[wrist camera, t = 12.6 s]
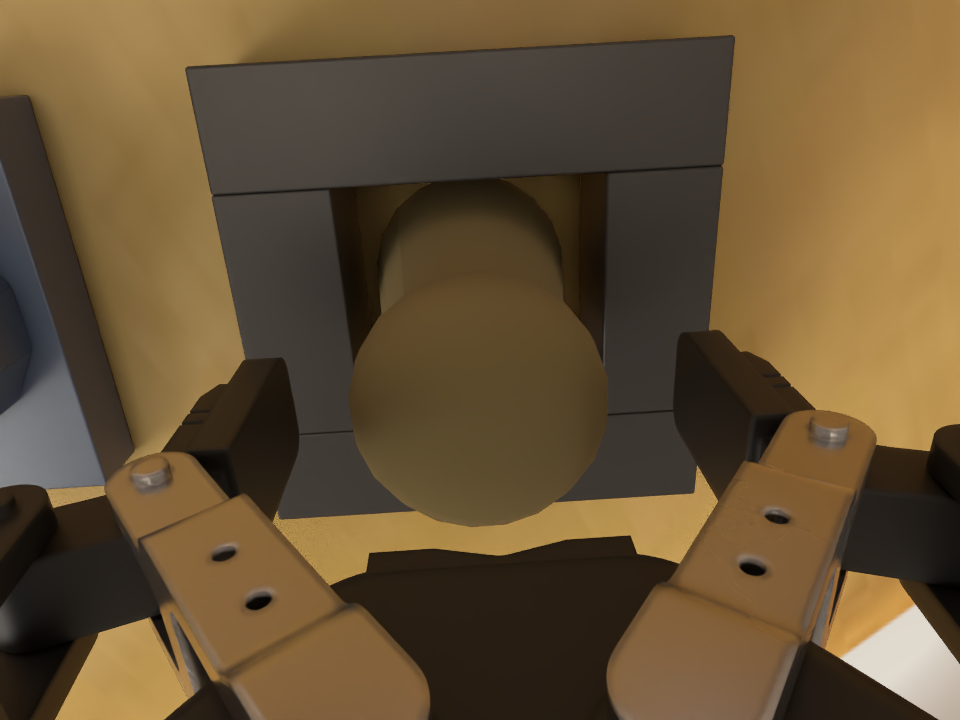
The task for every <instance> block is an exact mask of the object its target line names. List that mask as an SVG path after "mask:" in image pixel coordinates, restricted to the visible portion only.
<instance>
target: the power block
mask: <svg viewBox="0 0 960 720" xmlns="http://www.w3.org/2000/svg"><path fill="white" fill-rule="evenodd" d="M133 452H134V447H133V444H132V441H131V437H130V434H129V431H128V427H127V424H126V420H125V417H124V414H123V410H122V407H121V404H120V400H119V397H118V394H117V390H116V387H115V384H114V380H113V377H112V374H111V370H110V367H109V364H108V360H107V357H106V354H105V350H104V347H103V344H102V340H101V337H100V334H99V330H98V327H97V324H96V320H95V317H94V314H93V310H92V307H91V304H90V300H89V297H88V294H87V290H86V287H85V284H84V280H83V277H82V274H81V270H80V267H79V264H78V260H77V257H76V254H75V250H74V247H73V244H72V240H71V237H70V234H69V230H68V227H67V224H66V220H65V217H64V214H63V210H62V207H61V204H60V200H59V197H58V194H57V190H56V187H55V184H54V180H53V177H52V174H51V170H50V167H49V164H48V160H47V157H46V154H45V150H44V147H43V144H42V140H41V137H40V134H39V130H38V127H37V124H36V120H35V117H34V114H33V110H32V107H31V104H30V100H29V97H28V96H26V95H20V96H2V97H0V488H2V487H7V486H12V485H20V484H32V485H37V486H40V487H42V488H44V489H57V488H73V487H89V486H105V483H106V481H107V480H108V478H109V477H110V476H111V475H112V474H113V473H114V472H115V471H116V470H118V469H119V468H121V467H122V466H123V465H124V464H125V462H126V461H127V460H128V459H129V457H130V456H131V455H132V454H133Z"/></svg>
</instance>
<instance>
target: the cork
mask: <svg viewBox="0 0 960 720" xmlns="http://www.w3.org/2000/svg"><path fill="white" fill-rule="evenodd" d="M377 269H378V280H379V292H380V303H381V314H382V315H381V316H379V318H378V319H377V321H376V323H375V324H374V326H373V328H372V329H371V331H370V333H369V334H368V336H367V338H366V339H365V341H364V343H363V344H362V346H361V348H360V349H359V352H358V355H357V357H356V360H355V364H354V370H353V375H352V380H351V385H350V390H349V396H348V400H349V406H350V412H351V418H352V424H353V430H354V436H355V440H356V445H357V447H358V449H359V451H360V453H361V455H362V456H363V458H364V460H365V462H366V464H367V465H368V467H369V469H370V471H371V472H372V474H373V476H374V477H375V478H376V479H377V480H378V481H379V482H380V483H381V484H382V485H383V486H384V487H386V488H387V489H388V490H389V491H390V492H391V493H392V494H393V495H394V496H395V497H396V498H398V499H399V500H400V501H401V502H402V503H404V504H405V505H406V506H408V507H410V508H412V509H414V510H416V511H418V512H420V513H422V514H424V515H427V516H429V517H431V518H433V519H435V520H437V521H441V522H446V523H452V524H457V525H463V526H468V527H479V526H492V525H504V524H508V523H511V522H514V521H517V520H520V519H523V518H526V517H528V516H531V515H534V514H537V513H539V512H540V511H542V510H543V509H545V508H546V507H548V506H549V505H550V504H552V503H553V502H555V501H556V500H558V499H559V498H561V497H562V496H563V495H565V494H566V493H567V492H568V491H569V490H570V489H571V488H572V487H573V486H574V485H575V483H576V482H577V481H578V480H579V478H580V477H581V476H582V475H583V473H584V472H585V471H586V470H587V468H588V467H589V466H590V465H591V463H592V462H593V461H594V459H595V457H596V454H597V451H598V448H599V446H600V443H601V440H602V437H603V435H604V432H605V429H606V426H607V398H608V377H607V375H606V372H605V369H604V366H603V364H602V361H601V358H600V355H599V353H598V350H597V347H596V344H595V342H594V340H593V338H592V336H591V334H590V332H589V331H588V330H587V329H586V327H585V326H584V325H583V324H582V323H581V321H580V320H579V319H578V318H577V317H576V315H575V314H574V313H573V312H572V311H571V309H570V308H569V307H568V306H567V305H566V303H565V302H564V300H563V278H562V256H561V246H560V244H559V241H558V238H557V235H556V233H555V230H554V227H553V224H552V222H551V220H550V219H549V218H548V216H547V215H546V214H545V213H544V211H543V210H542V209H541V208H540V206H539V205H538V204H537V203H536V202H535V200H534V199H533V198H532V197H530V196H528V195H527V194H525V193H524V192H522V191H521V190H519V189H518V188H516V187H514V186H513V185H511V184H510V183H508V182H505V181H501V180H497V179H483V180H467V181H450V182H435V183H433V184H430V185H428V186H425V187H423V188H421V189H419V190H418V191H417V192H415V193H414V194H413V195H412V196H411V197H410V198H409V199H408V200H406V201H405V202H404V203H403V204H402V205H401V206H400V207H398V208H397V210H396V211H395V213H394V215H393V217H392V218H391V220H390V222H389V224H388V225H387V227H386V229H385V231H384V232H383V234H382V239H381V244H380V249H379V254H378V259H377Z"/></svg>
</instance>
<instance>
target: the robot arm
mask: <svg viewBox="0 0 960 720" xmlns="http://www.w3.org/2000/svg"><path fill="white" fill-rule="evenodd" d="M673 413H674V420H675V424H676V428H677V430H678V432H679V434H680V436H681V438H682V439H683V441H684V443H685V445H686V446H687V448H688V450H689V451H690V453H691V455H692V457H693V458H694V460H695V462H696V463H697V465H698V467H699V469H700V470H701V472H702V474H703V475H704V477H705V479H706V481H707V482H708V484H709V486H710V488H711V489H712V491H713V493H714V494H715V496H716V498H717V500H718V503H717V505H716V506H715V508H714V509H713V511H712V513H711V514H710V516H709V518H708V519H707V521H706V522H705V524H704V526H703V527H702V529H701V530H700V532H699V534H698V535H697V537H696V539H695V540H694V542H693V543H692V545H691V547H690V548H689V550H688V551H687V553H686V555H685V556H684V558H683V560H682V561H681V563H680V564H678V563H675V562H672V561H668V560H665V559H661V558H657V557H652V556H647V555H640V554H637V552H636V549H635V547H634V544H633V541H632V538H631V536H616V537H601V538H586V539H571V540H564V541H560V542H556V543H552V544H548V545H544V546H540V547H536V548H532V549H528V550H524V551H520V552H516V553H512V554H508V555H502V556H495V555H485V554H477V553H468V552H459V551H450V550H441V549H422V550H407V551H392V552H377V553H369V559H368V565H367V571H366V572H365V573H362V574H358V575H355V576H352V577H350V578H347V579H344V580H341V581H339V582H337V583H335V584H332V585H330V586H329V585H328V584H327V583H326V582H325V581H324V579H323V578H322V577H321V576H320V575H319V574H318V573H317V572H316V571H315V569H314V568H313V567H312V566H311V565H310V564H309V563H308V562H307V561H306V560H305V558H304V557H303V556H302V555H301V554H300V553H299V552H298V551H297V550H296V548H295V547H294V546H293V545H292V544H291V543H290V542H289V541H288V540H287V538H286V537H285V536H284V535H283V534H282V533H281V532H280V531H279V530H278V528H277V527H276V526H275V525H274V524H273V523H272V522H273V520H274V517H275V514H276V512H277V509H278V506H279V504H280V501H281V498H282V496H283V493H284V490H285V488H286V485H287V482H288V480H289V477H290V474H291V472H292V469H293V466H294V464H295V461H296V458H297V455H298V451H299V427H298V421H297V416H296V411H295V405H294V400H293V395H292V390H291V384H290V379H289V374H288V369H287V365H286V363H285V360H284V359H283V358H282V357H277V358H261V359H246V360H244V361H243V362H242V363H241V365H240V366H239V368H238V369H237V371H236V372H235V374H234V375H233V377H232V378H231V380H230V381H229V383H228V384H219V385H218V386H216V387H215V388H213V389H212V390H210V391H209V392H207V393H206V394H204V395H203V396H201V397H200V398H199V399H198V401H197V402H196V404H195V405H194V406H193V408H192V409H191V411H190V414H188V415H187V416H186V418H185V419H184V421H183V422H182V425H180V426H179V428H178V429H177V430H176V432H175V433H174V435H173V436H172V437H171V439H170V440H169V442H168V443H167V444H166V446H165V447H164V449H163V450H162V451H161V453H156V454H152V455H147V456H144V457H141V458H139V459H136V460H134V461H131V462H129V463H127V464H126V465H124V466H122V467H121V468H119V469H118V470H116V471H115V472H114V473H113V474H112V475H111V476H110V477H109V478H108V480H107V481H106V483H105V487H104V490H105V493H106V495H104V496H100V497H97V498H93V499H89V500H85V501H81V502H76V503H72V504H68V505H64V506H60V507H56V508H53V507H52V504H51V502H50V499H49V496H48V494H47V492H46V490H45V489H44V488H42V487H40V486H37V485H32V484H20V485H12V486H7V487H2V488H0V720H55V718H56V716H57V714H58V712H59V711H60V709H61V707H62V705H63V703H64V701H65V699H66V697H67V695H68V693H69V691H70V689H71V687H72V686H73V684H74V682H75V680H76V678H77V676H78V674H79V672H80V670H81V668H82V666H83V664H84V663H85V661H86V659H87V657H88V655H89V653H90V651H91V649H92V647H93V645H94V643H95V641H96V639H97V637H98V633H99V632H102V631H106V630H109V629H112V628H116V627H119V626H122V625H126V624H129V623H132V622H136V621H139V620H142V619H146V618H148V619H149V622H150V625H151V627H152V629H153V631H154V633H155V635H156V637H157V639H158V641H159V643H160V645H161V647H162V649H163V651H164V653H165V655H166V657H167V659H168V661H169V663H170V665H171V667H172V669H173V671H174V672H175V674H176V676H177V678H178V680H179V682H180V684H181V686H182V688H183V690H184V692H185V694H186V696H187V699H188V700H187V701H186V702H184V703H183V704H182V705H181V706H180V707H179V708H177V709H176V710H175V711H174V712H173V713H172V714H170V715H169V716H168V717H167V718H166V719H164V720H938V719H936V718H935V717H933V716H932V715H930V714H928V713H927V712H925V711H924V710H922V709H920V708H919V707H917V706H916V705H914V704H912V703H911V702H909V701H907V700H906V699H904V698H902V697H901V696H899V695H898V694H896V693H894V692H893V691H891V690H890V689H888V688H886V687H885V686H883V685H882V684H880V683H878V682H877V681H875V680H874V679H872V678H870V677H869V676H867V675H866V674H864V673H862V672H861V671H859V670H857V669H856V668H854V667H853V666H851V665H849V664H848V663H846V662H844V661H843V660H841V659H840V658H838V657H836V656H835V655H833V654H832V653H830V652H828V651H827V650H825V647H826V643H827V640H828V637H829V634H830V630H831V627H832V624H833V621H834V617H835V614H836V611H837V608H838V604H839V601H840V598H841V595H842V592H843V588H844V585H845V582H846V578H847V574H848V571H853V572H859V573H865V574H872V575H878V576H884V577H891V578H897V579H899V580H900V583H901V585H902V586H903V588H904V589H905V591H906V592H907V593H908V595H909V596H910V597H911V599H912V600H913V601H914V603H915V604H916V605H917V607H918V608H919V609H920V611H921V612H922V613H923V615H924V616H925V618H926V619H927V620H928V622H929V623H930V624H931V626H932V627H933V628H934V630H935V631H936V632H937V634H938V635H939V637H940V638H941V639H942V641H943V642H944V643H945V645H946V646H947V647H948V649H949V650H950V651H951V653H952V654H953V655H954V657H955V658H956V659H957V661H958V662H959V664H960V424H956V425H949V426H945V427H942V428H940V429H938V430H937V431H936V432H935V434H934V437H933V441H932V445H931V449H930V451H922V450H912V449H903V448H894V447H886V446H880V445H876V441H877V437H876V434H875V433H874V431H873V430H872V429H871V428H870V427H869V426H867V425H866V424H865V423H863V422H861V421H859V420H857V419H855V418H853V417H850V416H847V415H844V414H840V413H837V412H831V411H824V410H816V409H815V408H814V407H813V406H812V405H811V404H810V403H809V402H808V401H807V400H806V399H805V398H804V397H803V396H802V395H801V394H800V393H799V392H798V391H797V390H796V389H795V388H794V387H791V384H790V383H789V382H788V381H787V380H786V379H785V378H784V377H783V376H782V377H781V374H780V373H779V372H778V371H777V370H776V369H775V368H774V367H773V366H772V365H771V364H770V363H769V362H768V361H766V360H764V359H762V358H760V357H758V356H756V355H754V354H752V353H749V352H747V351H746V352H740V351H739V350H738V349H737V348H736V347H735V346H734V345H733V344H732V343H731V342H730V340H729V339H728V338H727V337H726V336H725V335H724V334H723V333H722V332H721V331H720V330H712V331H696V332H682V333H681V334H680V336H679V339H678V343H677V355H676V368H675V382H674V396H673Z"/></svg>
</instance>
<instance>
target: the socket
mask: <svg viewBox="0 0 960 720" xmlns="http://www.w3.org/2000/svg"><path fill="white" fill-rule="evenodd" d="M734 44H735V37H734V36H733V35H728V36H710V37H693V38H676V39H658V40H641V41H623V42H606V43H588V44H571V45H554V46H536V47H519V48H501V49H484V50H466V51H449V52H432V53H414V54H397V55H379V56H362V57H344V58H327V59H310V60H292V61H275V62H257V63H240V64H222V65H205V66H188V67H186V69H185V71H186V76H187V81H188V85H189V90H190V95H191V100H192V105H193V109H194V114H195V119H196V124H197V128H198V133H199V138H200V143H201V147H202V152H203V157H204V162H205V167H206V171H207V176H208V181H209V186H210V190H211V194H212V195H214V196H212V201H213V206H214V211H215V216H216V220H217V225H218V230H219V235H220V239H221V244H222V249H223V254H224V259H225V263H226V268H227V273H228V278H229V282H230V287H231V292H232V297H233V301H234V306H235V311H236V316H237V321H238V325H239V330H240V335H241V340H242V344H243V349H244V354H245V359H261V358H277V357H282V358H283V359H284V360H285V363H286V365H287V369H288V374H289V379H290V384H291V390H292V395H293V400H294V405H295V411H296V416H297V421H298V427H299V451H298V455H297V458H296V461H295V464H294V466H293V469H292V472H291V474H290V477H289V480H288V482H287V485H286V488H285V490H284V493H283V496H282V498H281V501H280V504H279V506H278V509H277V511H278V515H279V519H281V520H282V519H298V518H313V517H329V516H345V515H361V514H376V513H392V512H408V511H416V510H414V509H412V508H410V507H408V506H406V505H405V504H404V503H402V502H401V501H400V500H399V499H398V498H396V497H395V496H394V495H393V494H392V493H391V492H390V491H389V490H388V489H387V488H386V487H384V486H383V485H382V484H381V483H380V482H379V481H378V480H377V479H376V478H375V477H374V476H373V474H372V472H371V471H370V469H369V467H368V465H367V464H366V462H365V460H364V458H363V456H362V455H361V453H360V451H359V449H358V447H357V445H356V440H355V436H354V430H353V424H352V418H351V412H350V406H349V400H348V396H349V390H350V385H351V380H352V375H353V370H354V364H355V360H356V357H357V355H358V352H359V349H360V348H361V346H362V344H363V343H364V341H365V339H366V338H367V336H368V334H369V333H370V331H371V329H372V327H371V319H370V311H369V303H368V295H367V287H366V279H365V271H364V263H363V255H362V247H361V239H360V231H359V223H358V215H357V207H356V199H355V191H354V187H365V186H382V185H399V184H416V183H433V182H450V181H467V180H483V179H500V178H517V177H534V176H551V175H568V174H581V203H580V321H581V323H582V324H583V325H584V326H585V327H586V329H587V330H588V331H589V332H590V334H591V336H592V338H593V340H594V342H595V344H596V347H597V350H598V353H599V355H600V358H601V361H602V364H603V366H604V369H605V372H606V375H607V377H608V398H607V426H606V429H605V432H604V435H603V437H602V440H601V443H600V446H599V448H598V451H597V454H596V457H595V459H594V461H593V462H592V463H591V465H590V466H589V467H588V468H587V470H586V471H585V472H584V473H583V475H582V476H581V477H580V478H579V480H578V481H577V482H576V483H575V485H574V486H573V487H572V488H571V489H570V490H569V491H568V492H567V493H566V494H565V495H563V496H562V497H561V498H559V499H558V500H556V501H555V502H565V501H581V500H596V499H612V498H628V497H644V496H659V495H675V494H691V493H694V491H695V480H696V469H697V463H696V462H695V460H694V458H693V457H692V455H691V453H690V451H689V450H688V448H687V446H686V445H685V443H684V441H683V439H682V438H681V436H680V434H679V432H678V430H677V428H676V424H675V420H674V413H673V396H674V382H675V368H676V355H677V343H678V339H679V336H680V334H681V333H682V332H696V331H709V321H710V310H711V299H712V287H713V276H714V265H715V254H716V243H717V232H718V220H719V209H720V198H721V187H722V176H723V167H722V166H720V165H723V163H724V156H725V144H726V133H727V122H728V111H729V100H730V89H731V78H732V66H733V55H734Z"/></svg>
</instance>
